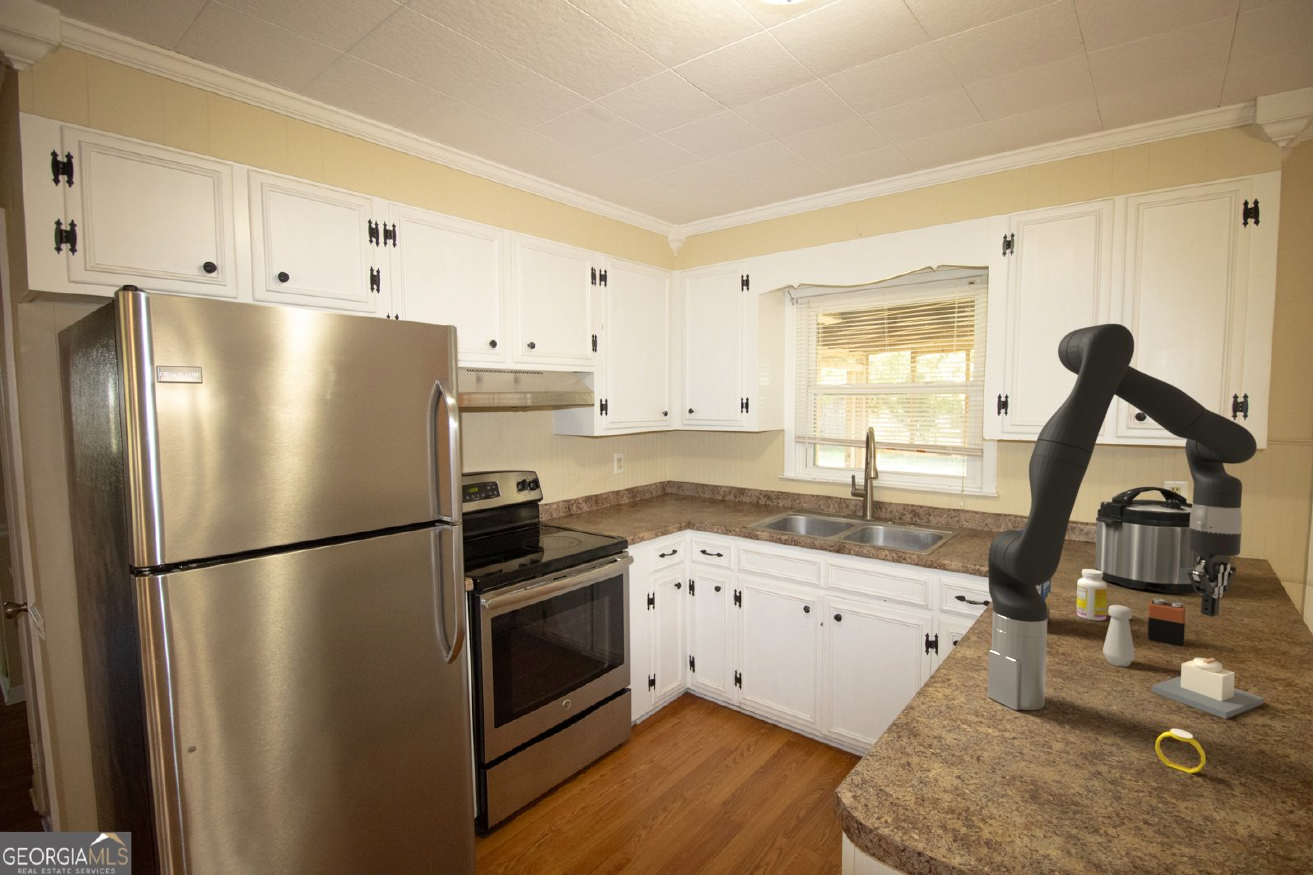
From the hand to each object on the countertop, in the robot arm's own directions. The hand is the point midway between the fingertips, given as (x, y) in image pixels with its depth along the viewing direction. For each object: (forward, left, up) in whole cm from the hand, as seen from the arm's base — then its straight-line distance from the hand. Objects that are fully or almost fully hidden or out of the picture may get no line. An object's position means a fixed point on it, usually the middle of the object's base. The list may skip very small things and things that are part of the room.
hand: (1209, 615), depth 120 cm
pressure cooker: (+78, +51, -17) cm, 95 cm away
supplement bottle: (+28, +38, -17) cm, 50 cm away
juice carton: (+8, +42, -17) cm, 46 cm away
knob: (0, 0, -16) cm, 16 cm away
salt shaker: (+2, +17, -17) cm, 24 cm away
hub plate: (0, 0, -17) cm, 17 cm away
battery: (+27, +20, -17) cm, 38 cm away
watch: (-33, -11, -17) cm, 39 cm away
